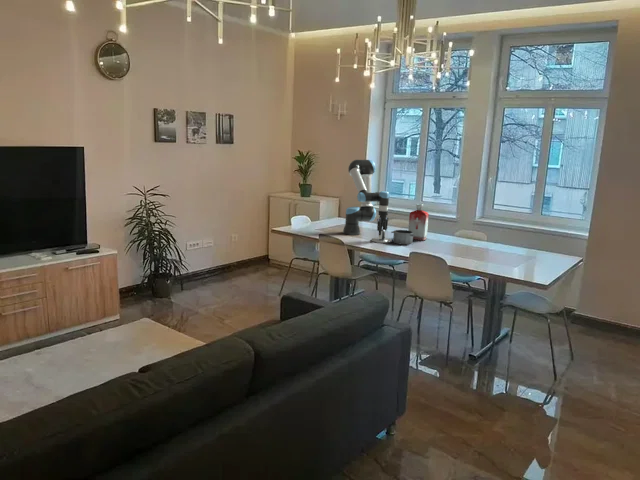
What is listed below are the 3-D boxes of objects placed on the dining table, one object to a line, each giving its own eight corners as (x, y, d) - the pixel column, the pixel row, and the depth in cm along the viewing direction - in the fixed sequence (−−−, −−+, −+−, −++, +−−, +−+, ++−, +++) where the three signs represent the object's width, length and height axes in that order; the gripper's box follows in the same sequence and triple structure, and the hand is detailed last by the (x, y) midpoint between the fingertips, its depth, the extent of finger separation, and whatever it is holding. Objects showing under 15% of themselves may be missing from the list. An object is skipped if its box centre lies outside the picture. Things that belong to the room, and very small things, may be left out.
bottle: (407, 239, 435) (409, 204, 429) (410, 237, 444) (413, 202, 438) (423, 241, 429) (426, 205, 423) (427, 239, 438) (430, 204, 432)
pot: (387, 241, 421) (387, 231, 419) (397, 239, 433) (397, 228, 431) (408, 245, 408) (409, 234, 406) (418, 243, 420) (419, 232, 418)
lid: (367, 240, 422) (368, 229, 420) (378, 238, 434) (379, 227, 432) (384, 244, 412) (385, 232, 410) (395, 241, 424) (396, 229, 422)
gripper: (381, 212, 409) (379, 240, 414) (392, 210, 422) (391, 237, 427) (373, 210, 414) (372, 239, 419) (385, 209, 427) (383, 236, 431)
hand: (381, 238), depth 423 cm, fingers closed on lid, 4 cm apart
